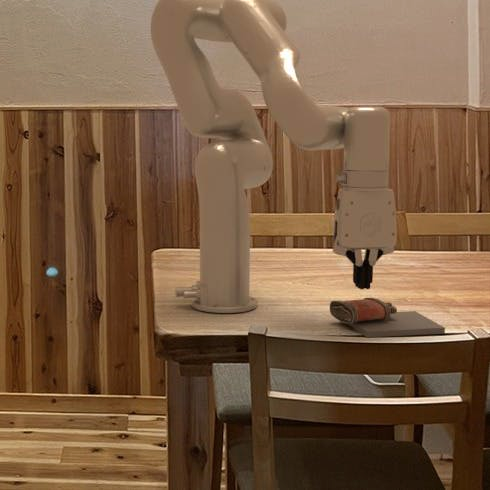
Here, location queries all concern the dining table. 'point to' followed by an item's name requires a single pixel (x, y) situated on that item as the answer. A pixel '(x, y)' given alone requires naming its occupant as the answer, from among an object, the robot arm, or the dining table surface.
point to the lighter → (361, 310)
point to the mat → (399, 325)
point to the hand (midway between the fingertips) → (362, 287)
